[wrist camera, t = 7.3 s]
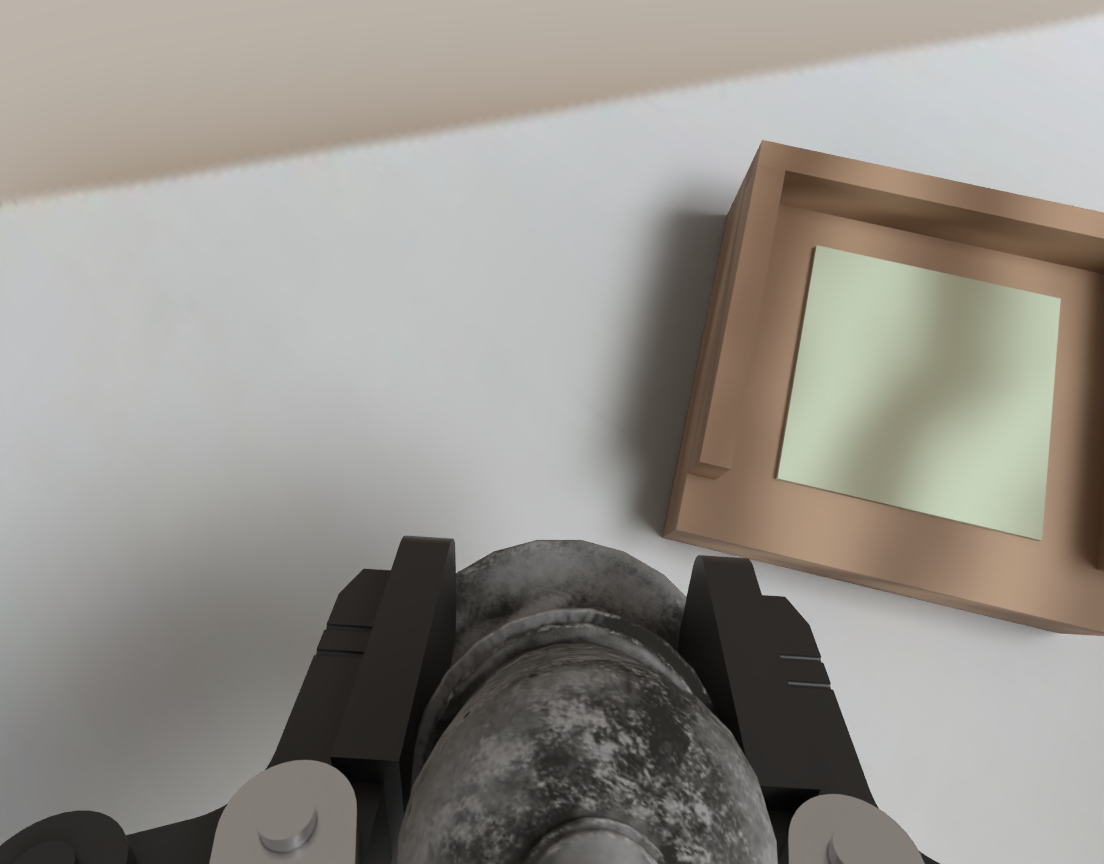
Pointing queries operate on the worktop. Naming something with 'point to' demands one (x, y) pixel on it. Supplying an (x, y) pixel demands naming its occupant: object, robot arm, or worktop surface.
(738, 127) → the worktop surface
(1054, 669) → the worktop surface
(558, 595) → the salt shaker
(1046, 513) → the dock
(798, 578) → the worktop surface
